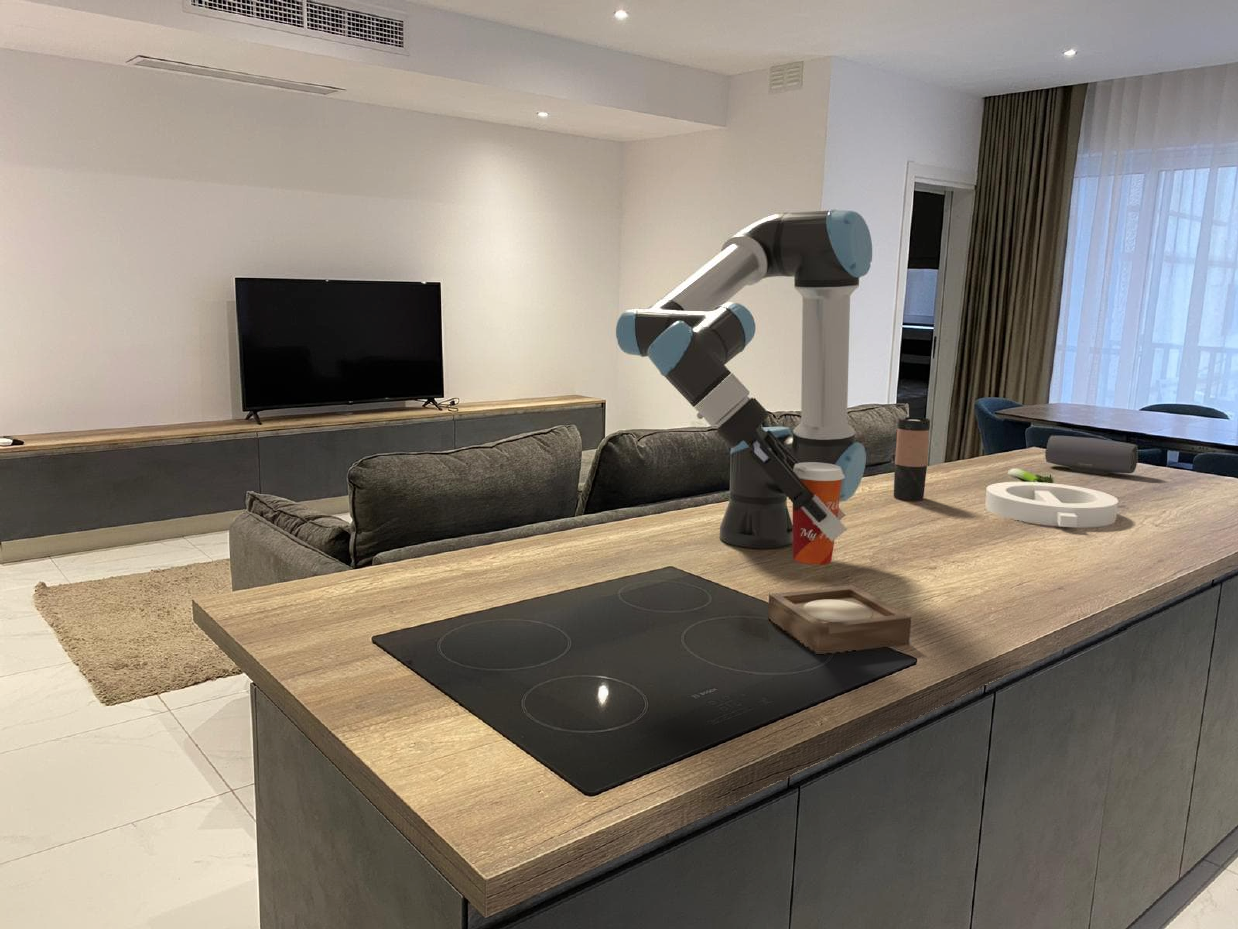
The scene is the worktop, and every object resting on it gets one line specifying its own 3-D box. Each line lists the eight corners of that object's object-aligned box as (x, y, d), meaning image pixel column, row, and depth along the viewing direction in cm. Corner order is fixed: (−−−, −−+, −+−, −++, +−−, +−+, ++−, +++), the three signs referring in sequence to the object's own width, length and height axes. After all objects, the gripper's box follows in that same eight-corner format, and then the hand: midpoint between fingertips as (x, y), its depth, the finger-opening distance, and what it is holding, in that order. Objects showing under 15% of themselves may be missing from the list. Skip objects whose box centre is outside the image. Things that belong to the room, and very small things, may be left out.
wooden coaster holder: (767, 618, 140) (769, 594, 139) (851, 609, 144) (853, 585, 143) (818, 655, 126) (819, 628, 125) (909, 643, 130) (911, 617, 129)
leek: (1027, 482, 257) (1061, 496, 228) (1001, 484, 258) (1032, 499, 229) (1025, 461, 257) (1059, 472, 227) (999, 463, 258) (1030, 475, 228)
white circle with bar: (1030, 495, 231) (1032, 477, 231) (1140, 519, 208) (1143, 499, 207) (959, 508, 217) (961, 488, 216) (1069, 534, 194) (1072, 513, 193)
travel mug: (926, 502, 221) (932, 421, 217) (893, 500, 223) (899, 420, 219) (922, 495, 229) (928, 417, 225) (891, 493, 230) (896, 416, 226)
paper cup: (807, 569, 128) (813, 473, 125) (775, 555, 134) (780, 463, 132) (850, 563, 131) (857, 469, 128) (817, 549, 138) (822, 459, 135)
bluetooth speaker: (1136, 475, 259) (1140, 441, 257) (1127, 479, 253) (1131, 444, 251) (1053, 464, 275) (1057, 432, 273) (1043, 468, 268) (1046, 435, 266)
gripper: (721, 419, 142) (819, 526, 142) (704, 440, 123) (818, 564, 122) (757, 387, 140) (856, 495, 140) (745, 403, 120) (861, 529, 120)
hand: (838, 527), depth 131 cm, fingers closed on paper cup, 8 cm apart
